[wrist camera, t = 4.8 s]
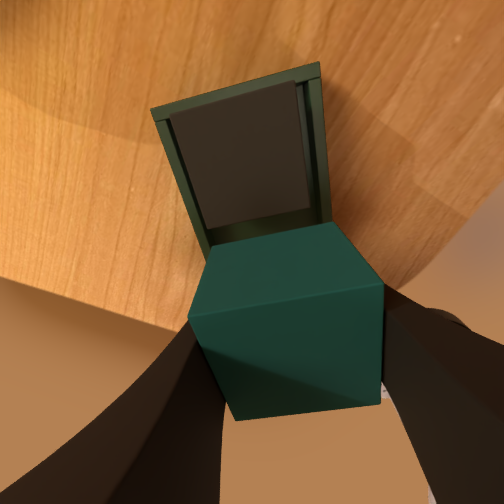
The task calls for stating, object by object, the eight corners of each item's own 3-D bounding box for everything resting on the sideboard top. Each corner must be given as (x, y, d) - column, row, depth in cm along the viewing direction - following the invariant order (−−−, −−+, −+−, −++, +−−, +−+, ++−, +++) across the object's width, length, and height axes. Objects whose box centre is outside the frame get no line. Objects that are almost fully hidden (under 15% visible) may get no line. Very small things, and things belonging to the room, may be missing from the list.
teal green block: (341, 316, 12) (381, 405, 8) (241, 332, 12) (234, 422, 9) (334, 220, 9) (385, 282, 6) (211, 245, 10) (186, 316, 6)
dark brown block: (297, 187, 15) (311, 208, 11) (218, 204, 15) (207, 230, 12) (283, 92, 13) (295, 78, 9) (192, 117, 13) (167, 114, 9)
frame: (329, 266, 18) (337, 282, 16) (223, 286, 19) (220, 303, 17) (310, 69, 13) (319, 60, 11) (163, 110, 13) (149, 109, 12)
